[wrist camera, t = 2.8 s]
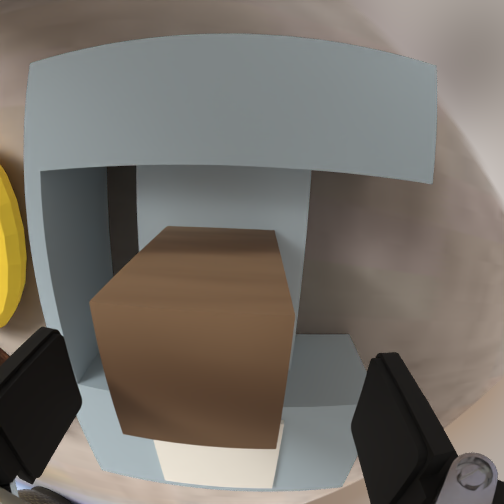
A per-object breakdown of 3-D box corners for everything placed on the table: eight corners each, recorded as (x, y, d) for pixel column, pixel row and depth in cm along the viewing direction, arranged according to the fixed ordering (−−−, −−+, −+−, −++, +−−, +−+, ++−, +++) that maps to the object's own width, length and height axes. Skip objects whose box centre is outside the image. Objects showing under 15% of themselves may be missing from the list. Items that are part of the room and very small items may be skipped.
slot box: (96, 84, 16) (26, 62, 9) (377, 90, 16) (440, 64, 9) (127, 409, 24) (100, 472, 17) (326, 421, 24) (342, 490, 17)
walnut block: (167, 225, 15) (89, 301, 7) (274, 230, 15) (295, 315, 7) (171, 319, 16) (122, 433, 9) (267, 325, 16) (276, 449, 9)
